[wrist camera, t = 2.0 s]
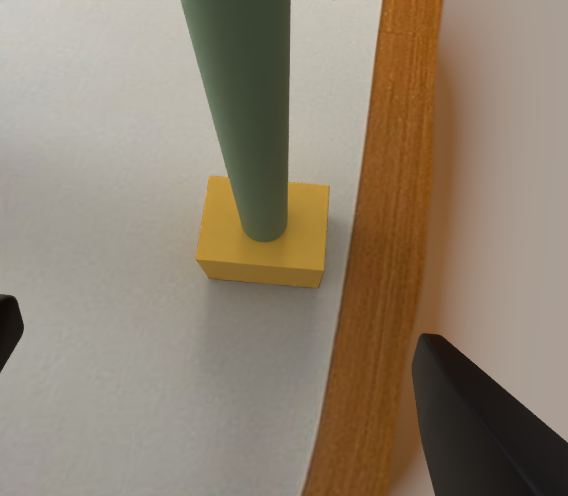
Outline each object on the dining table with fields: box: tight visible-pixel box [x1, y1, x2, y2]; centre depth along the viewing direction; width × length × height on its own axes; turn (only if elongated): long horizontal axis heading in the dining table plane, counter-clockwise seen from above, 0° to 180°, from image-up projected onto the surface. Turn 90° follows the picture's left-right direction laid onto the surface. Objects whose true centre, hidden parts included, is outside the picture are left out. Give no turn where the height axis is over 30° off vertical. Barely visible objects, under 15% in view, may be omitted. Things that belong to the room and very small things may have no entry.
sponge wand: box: [181, 0, 330, 288], centre depth 15 cm, size 4×6×17 cm
